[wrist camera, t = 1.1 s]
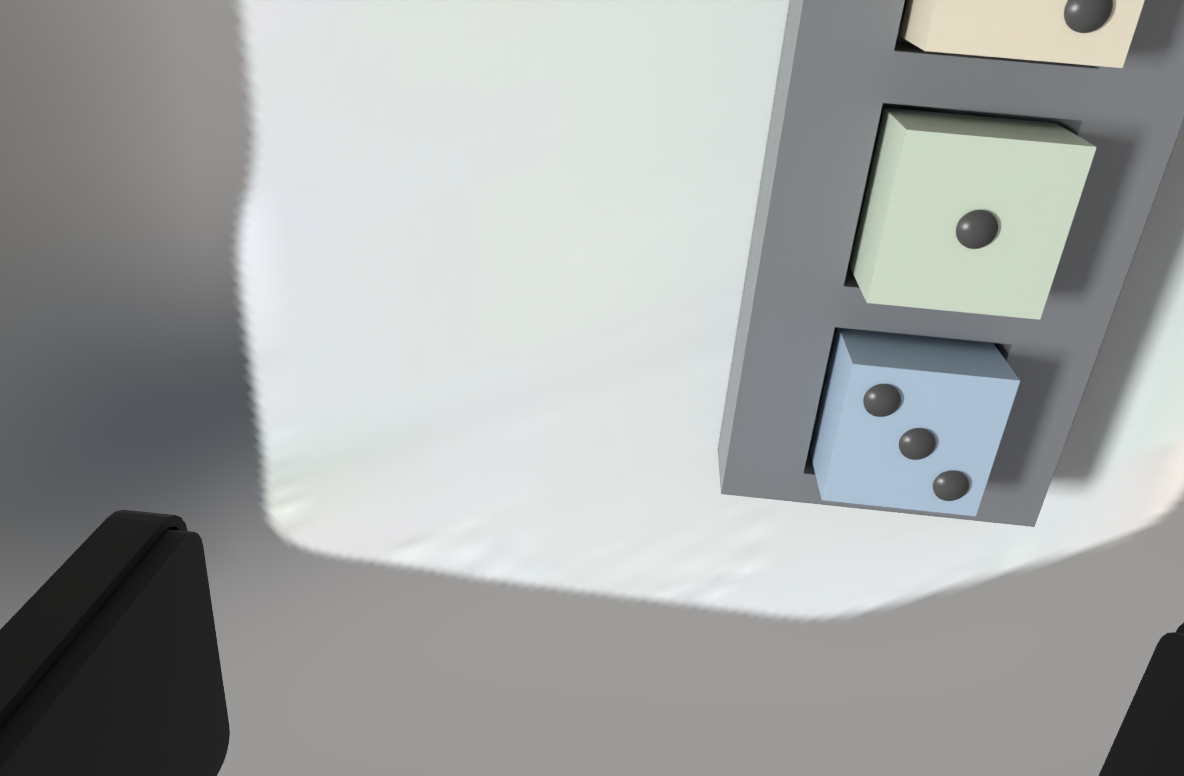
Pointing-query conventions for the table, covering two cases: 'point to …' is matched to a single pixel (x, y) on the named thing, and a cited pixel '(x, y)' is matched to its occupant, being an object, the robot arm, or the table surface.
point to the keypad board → (834, 299)
